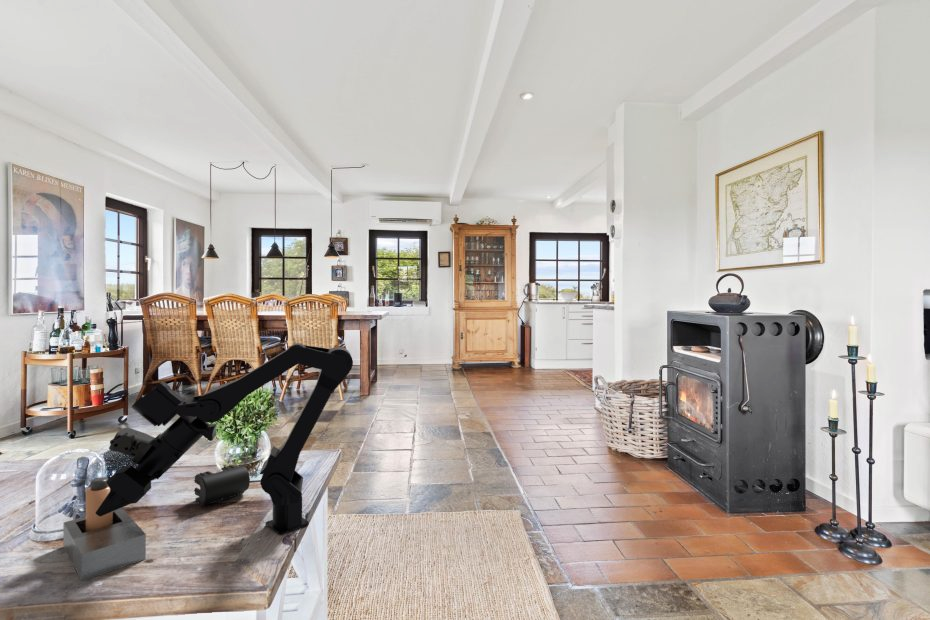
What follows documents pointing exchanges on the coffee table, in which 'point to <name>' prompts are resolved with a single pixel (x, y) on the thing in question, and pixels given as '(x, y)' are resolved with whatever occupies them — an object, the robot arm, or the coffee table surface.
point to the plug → (97, 505)
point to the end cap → (221, 484)
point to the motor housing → (104, 545)
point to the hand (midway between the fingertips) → (109, 503)
